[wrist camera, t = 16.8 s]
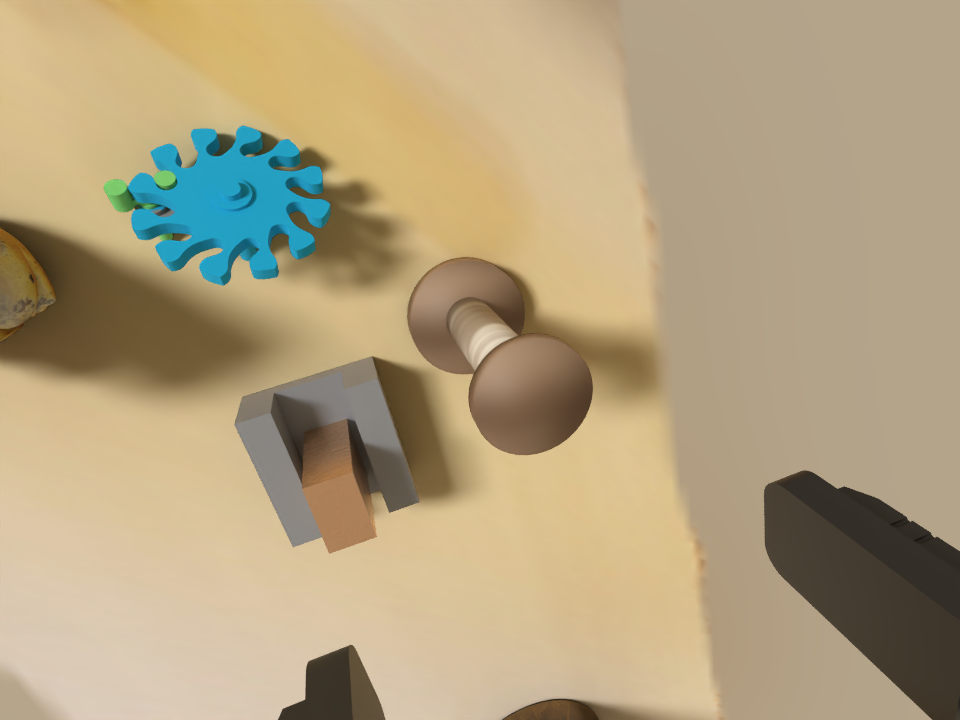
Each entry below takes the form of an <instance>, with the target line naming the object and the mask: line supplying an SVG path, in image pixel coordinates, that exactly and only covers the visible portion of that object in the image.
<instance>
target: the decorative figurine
mask: <svg viewBox="0 0 960 720" xmlns="http://www.w3.org/2000/svg"><path fill="white" fill-rule="evenodd" d="M56 299H57V297H56V294H55V292H54V289H53V287H52V284H51V283H50V281H49V279H48V277H47V276H46V274H45V272H44V270H43V269H42V267H41V266H40V264H39V263H38V262H37V260H36V259H35V258H34V256H33V255H32V254H31V253H30V252H29V250H28V249H27V248H26V247H25V246H24V245H23V244H22V243H21V242H20V241H19V240H18V239H16V238H15V237H13V236H12V235H11V234H9V233H8V232H6V231H5V230H3V229H1V228H0V343H1V342H3V341H4V340H6V339H7V338H8V337H9V336H10V335H11V334H13V333H15V332H16V331H17V330H19V329H20V328H21V327H22V326H23V323H24V322H25V321H26V320H28V319H29V318H30V317H32V316H35V315H36V313H39V312H43V311H44V310H46V309H47V306H49V305H52V304H53V303H54V302H56Z"/></svg>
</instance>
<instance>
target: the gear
mask: <svg viewBox="0 0 960 720" xmlns="http://www.w3.org/2000/svg"><path fill="white" fill-rule="evenodd" d="M236 136H237V137H236V141H235V143H234V145H233V146H232V148H231V149H229V150H228V151H227V152H226V153H225V154H223V155H221V156H212V155H213V154H214V153H216V152H217V151H218V150H219V147H220V144H219V140H218V137H217V133H216V131H215V130H213V129H193V130H192V132H191V137H192V140H193V143H194V146H195V149H196V150H197V151H198V158H197V161H196V164H195V165H194V166H192V167H190V168H181V165H182V161H181V158H180V156H179V153H178V150H177V148H176V147H175V146H174V145H172V144H166V145H163V146H160V147H158V148H156V149H154V150H152V151H151V155H152V158H153V160H154V162H155V165H156V167H157V168H158V169H159V170H160V172H158V173H156V175H155V176H154V179H153V177H152V176H150V175H149V174H146V173H139V174H138V175H136V176H135V177H134V178H133V180H132V181H131V182H130V184H129V186H128V187H127V185H126V183H125V182H124V181H122V180H118V179H114V180H110V181H108V182H107V183H106V184H105V185H104V191H105V192H106V194H107V196H108V198H109V199H110V201H111V203H112V204H113V206H114V208H115V209H116V210H117V211H120V212H128V211H131V210H132V209H133V208H135V210H134V211H133V213H132V218H131V220H132V228H133V230H134V232H135V234H136V235H137V237H138V239H141V240H150V239H153V238H155V237H157V236H159V237H160V239H161V240H162V242H160V243H158V244H157V245H156V246H155V248H156V251H157V252H158V254H159V256H160V258H161V260H162V262H163V263H164V264H165V265H166V267H168V268H169V269H170V270H171V271H177V270H180V269H181V268H183V267H184V266H185V264H186V263H187V262H188V261H189V260H190V259H191V258H192V257H193V256H195V255H196V254H198V253H200V252H203V251H205V250H209V249H212V248H222V249H223V251H222V252H221V253H219V254H217V255H214V256H210V257H207V258H205V259H204V260H203V261H202V262H201V263H200V266H199V269H200V271H201V273H202V276H203V278H205V279H206V280H208V281H210V282H212V283H215V284H219V285H223V286H224V285H225V284H227V283H228V282H229V280H230V278H231V267H232V265H233V262H234V261H235V259H236V258H237V257H238V256H239V254H240V256H241V258H242V259H244V260H246V261H250V268H251V271H252V275H253V277H254V278H256V279H270V278H275V277H277V276H278V273H279V270H278V265H277V261H276V258H275V257H274V256H273V255H272V253H271V251H270V245H271V241H272V238H273V237H274V236H275V235H277V234H286V235H288V236H289V246H290V252H291V254H292V256H293V257H294V258H296V259H302V258H304V257H306V256H308V255H310V254H311V253H312V252H314V251H315V250H316V249H315V240H314V237H313V236H312V235H311V234H310V233H309V232H306V231H304V230H302V229H300V228H299V227H297V226H296V225H295V224H294V223H293V222H292V221H291V219H290V218H289V214H290V213H292V212H295V211H299V212H302V213H304V214H305V215H306V216H307V218H308V220H309V222H310V224H312V225H313V226H315V227H318V228H322V227H324V226H325V224H326V223H327V222H328V220H329V217H330V214H331V209H330V203H329V202H327V201H326V200H323V199H308V198H304V197H301V196H299V195H297V194H295V193H293V192H292V191H290V190H289V189H290V188H292V187H300V188H302V189H304V190H305V191H307V192H309V193H311V194H320V193H322V192H323V177H322V172H321V169H320V167H317V166H310V167H307V168H305V169H302V170H298V171H281V170H275V169H273V168H274V167H276V166H283V167H296V166H298V165H299V164H300V163H301V160H300V152H299V150H298V148H297V147H296V146H295V145H294V144H293V143H292V142H291V141H290V140H289V139H285V140H282V141H280V142H279V143H278V144H277V145H276V147H275V148H273V149H272V150H271V151H269V152H267V153H265V154H263V155H259V156H255V157H245V156H246V155H248V154H252V153H256V152H258V151H260V150H261V149H262V147H263V141H262V136H261V133H260V132H259V131H257V130H255V129H253V128H250V127H246V126H241V127H239V128H238V130H237V132H236ZM173 233H182V234H189V235H192V237H191V238H190V239H188V240H186V241H174V240H172V239H173ZM257 248H258V249H259V251H258V252H257Z"/></svg>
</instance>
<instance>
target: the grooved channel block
mask: <svg viewBox="0 0 960 720" xmlns="http://www.w3.org/2000/svg"><path fill="white" fill-rule="evenodd" d="M344 419H347V420H348V423H349V425H350V428H351V431H352V434H353V436H354V439H355V442H356V445H357V447H358V450H359V453H360V456H361V459H362V461H363V464H364V467H365V470H366V472H367V475H368V481H369V487H370V494H371V493H374V492H377V491H380V490H381V492H382V494H383V497H384V500H385V502H386V505H387V508H388V510H389V513H390V512H393V511H396V510H399V509H401V508H404V507H407V506H410V505H413V504H415V503H418V502H419V498H418V495H417V491H416V488H415V484H414V480H413V477H412V473H411V470H410V467H409V464H408V461H407V458H406V455H405V452H404V449H403V446H402V443H401V440H400V437H399V435H398V432H397V429H396V426H395V423H394V420H393V417H392V414H391V411H390V408H389V405H388V402H387V399H386V396H385V393H384V390H383V387H382V384H381V381H380V378H379V375H378V372H377V369H376V366H375V363H374V360H373V358H372V357H369V358H366V359H362V360H359V361H356V362H353V363H350V364H346V365H343V366H340V367H337V368H334V369H330V370H327V371H324V372H321V373H318V374H315V375H311V376H308V377H305V378H302V379H299V380H295V381H292V382H289V383H286V384H283V385H279V386H276V387H273V388H270V389H267V390H263V391H260V392H257V393H254V394H251V395H248V396H244V397H242V400H241V403H240V407H239V410H238V414H237V417H236V421H235V424H234V425H235V427H236V429H237V431H238V433H239V435H240V437H241V439H242V441H243V444H244V446H245V448H246V450H247V452H248V454H249V456H250V458H251V460H252V462H253V464H254V467H255V469H256V471H257V473H258V475H259V477H260V479H261V481H262V483H263V485H264V487H265V490H266V492H267V494H268V496H269V498H270V500H271V502H272V504H273V506H274V508H275V510H276V513H277V515H278V517H279V519H280V521H281V523H282V525H283V527H284V529H285V531H286V533H287V536H288V538H289V540H290V542H291V544H292V546H293V547H295V546H298V545H301V544H304V543H306V542H309V541H312V540H315V539H318V538H320V537H322V535H321V533H320V530H319V528H318V526H317V523H316V521H315V519H314V516H313V514H312V512H311V509H310V507H309V505H308V502H307V500H306V498H305V495H304V493H303V491H302V474H303V452H304V432H306V431H309V430H312V429H315V428H319V427H322V426H325V425H328V424H331V423H335V422H338V421H341V420H344Z"/></svg>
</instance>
